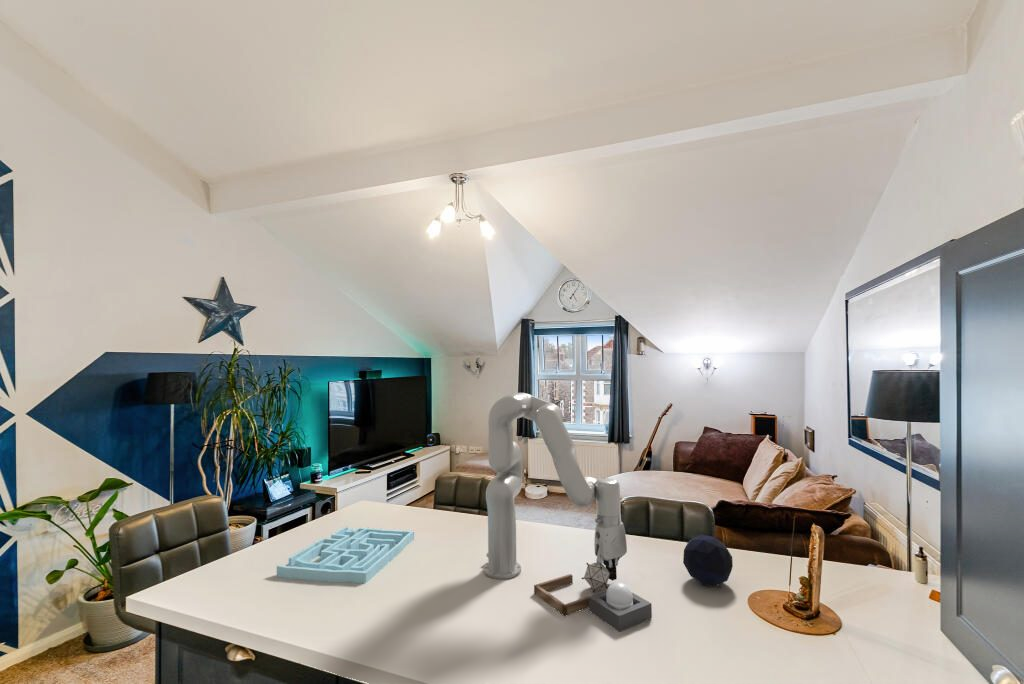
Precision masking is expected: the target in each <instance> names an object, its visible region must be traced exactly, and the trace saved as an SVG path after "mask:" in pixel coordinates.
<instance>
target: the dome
mask: <svg viewBox="0 0 1024 684" xmlns="http://www.w3.org/2000/svg"><path fill="white" fill-rule="evenodd" d="M606 590H607V593H606V602H607V603H608V604H610V605H611V606H613V607H615V608H616V609H618V610H622V609H624V608H627V607H629V606H632V605H633V595H632V593H633V591H632V590H631V589H630V587H629V586H628V585H626V584H625V583H623V582H619V581H617V582H616V581H615V582H613V583H612V584H610V585H609V586H608V589H607V588H606Z"/></svg>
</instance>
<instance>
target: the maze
mask: <svg viewBox="0 0 1024 684" xmlns="http://www.w3.org/2000/svg"><path fill="white" fill-rule="evenodd" d="M330 537H331V538H330ZM330 537H329V538H328V537H323V538H321V539H319V540H317V541H316V542H315V541H314V542H313V543H311V544H310V545H309V546H307V547H305V548H302V549H301V550H300V551H298V552H296V553H294V554H293V555H291V556H290V557H289V558H288V565H282V564H277V565H276V577H280V578H285V579H298V580H307V581H317V582H318V581H321V582H329V583H356V584H367V583H368V582H369V581H370V580H372V579H373V578H374V577H375V576H376V575H377V574H378V573H379V572H380V571H381V570H383V569H384V568H385V567H386V566H387V565H388V564H389V563H390V562H392V561H393V560H394V559H395V558H396V557H397V556H398V555H399V554H401V553H402V552H403V551H404V549H405V548H406V547H407V546H408V545H409V544H411V542H413V541H414V540H415V531H414V530H402V529H401V530H400V529H382V528H370V527H360V526H359V527H357V528H355V529H353V527H349V526H347V525H346V526H344V527H341V528H340V529H338V530H337V531H335V532H333V533H332V534H330ZM319 556H320V561H319V562H312V561H311V560H314V559H315V558H317V557H319Z"/></svg>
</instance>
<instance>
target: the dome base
mask: <svg viewBox="0 0 1024 684" xmlns="http://www.w3.org/2000/svg"><path fill="white" fill-rule="evenodd" d="M606 593H607V589H606V590H604V591H600V593H599V592H597V593H593V594H591V595H592V596H591V595H588V596H589V608H588V611H589V612H590V611H591V612H592V613H591V612H590V613H591V614H592V615H594V614H595V615H596V616H595V615H594V616H595V617H597V616H598V617H599V620H601V619H602V620H601V621H602V622H604V623H606V624H607V625H609V626H610V627H611V626H612V628H613V629H614V628H615V629H614V630H616V631H617V630H618V631H617V632H623V631H625V630H627V629H630V628H633V627H635V626H637V625H640V624H642V623H644V622H647V621H650V620H651V618H653V613H652V612H653V611H652V608H653V607H652V602H650V601H648V600H646V599H644V598H642V597H641V596H639V595H637V594H636V593H634V592H632V595H633V605H632V606H629V607H627V608H624V609H622V610H618V609H616V608H615V607H613V606H611V605H610V604H608V603H607V602H606ZM598 617H597V618H598Z"/></svg>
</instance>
